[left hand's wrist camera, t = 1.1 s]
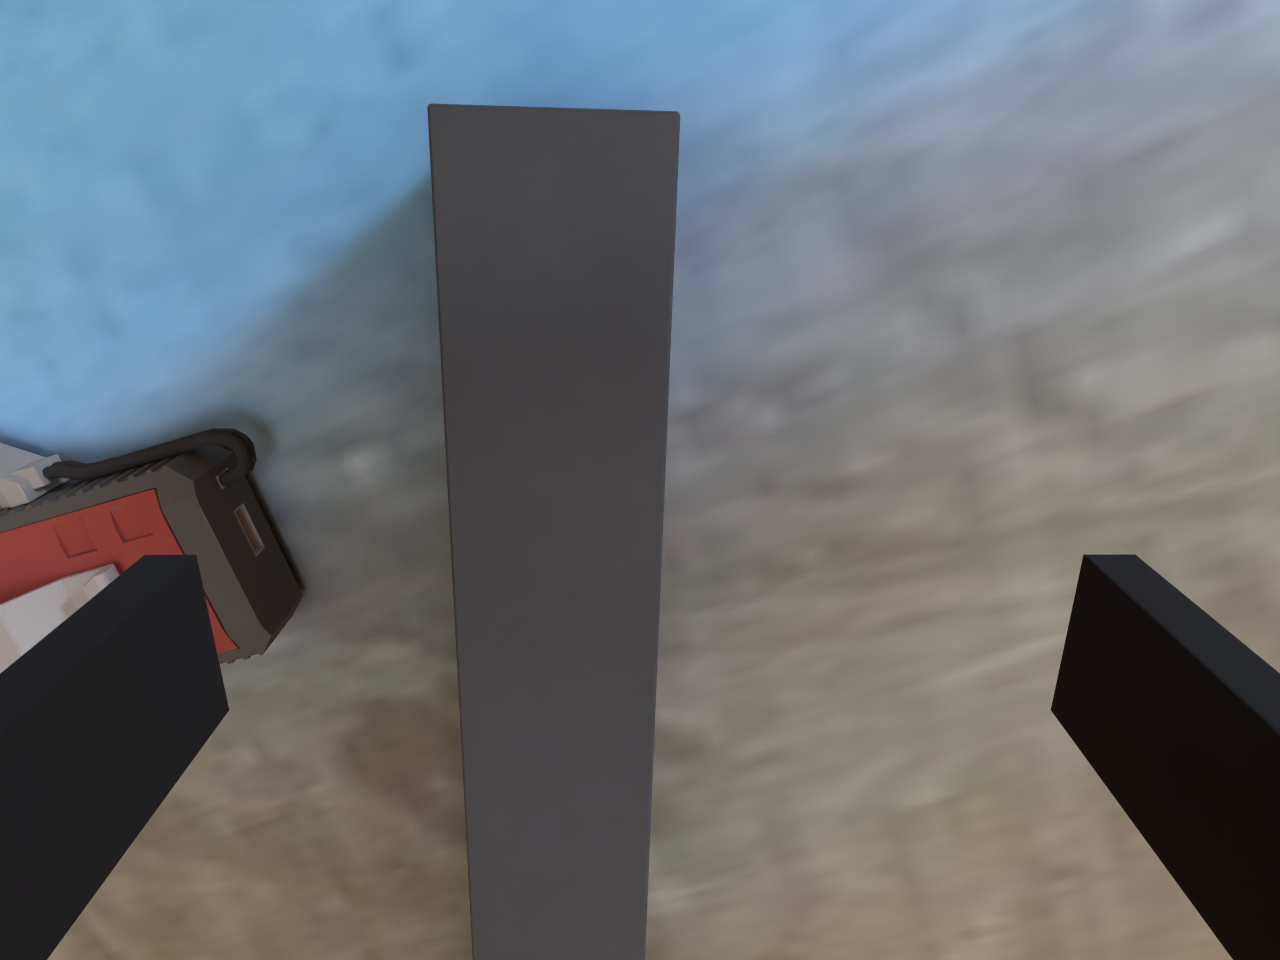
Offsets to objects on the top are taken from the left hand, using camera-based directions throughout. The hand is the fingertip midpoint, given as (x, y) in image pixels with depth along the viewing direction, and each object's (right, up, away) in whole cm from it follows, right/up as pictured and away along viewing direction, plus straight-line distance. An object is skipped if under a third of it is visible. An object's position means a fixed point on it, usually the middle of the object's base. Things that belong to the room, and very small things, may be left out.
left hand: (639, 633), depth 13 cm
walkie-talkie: (-21, 0, +15) cm, 26 cm away
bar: (-3, -23, +24) cm, 33 cm away
